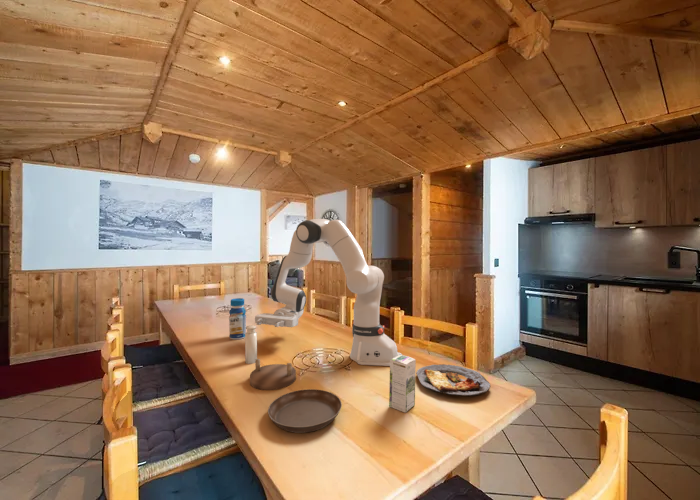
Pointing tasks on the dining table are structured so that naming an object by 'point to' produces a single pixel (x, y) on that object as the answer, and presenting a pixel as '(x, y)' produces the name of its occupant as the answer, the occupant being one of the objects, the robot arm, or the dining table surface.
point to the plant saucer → (304, 410)
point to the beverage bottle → (237, 319)
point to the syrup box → (402, 383)
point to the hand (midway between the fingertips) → (266, 324)
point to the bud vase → (250, 345)
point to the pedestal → (272, 376)
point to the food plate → (452, 380)
